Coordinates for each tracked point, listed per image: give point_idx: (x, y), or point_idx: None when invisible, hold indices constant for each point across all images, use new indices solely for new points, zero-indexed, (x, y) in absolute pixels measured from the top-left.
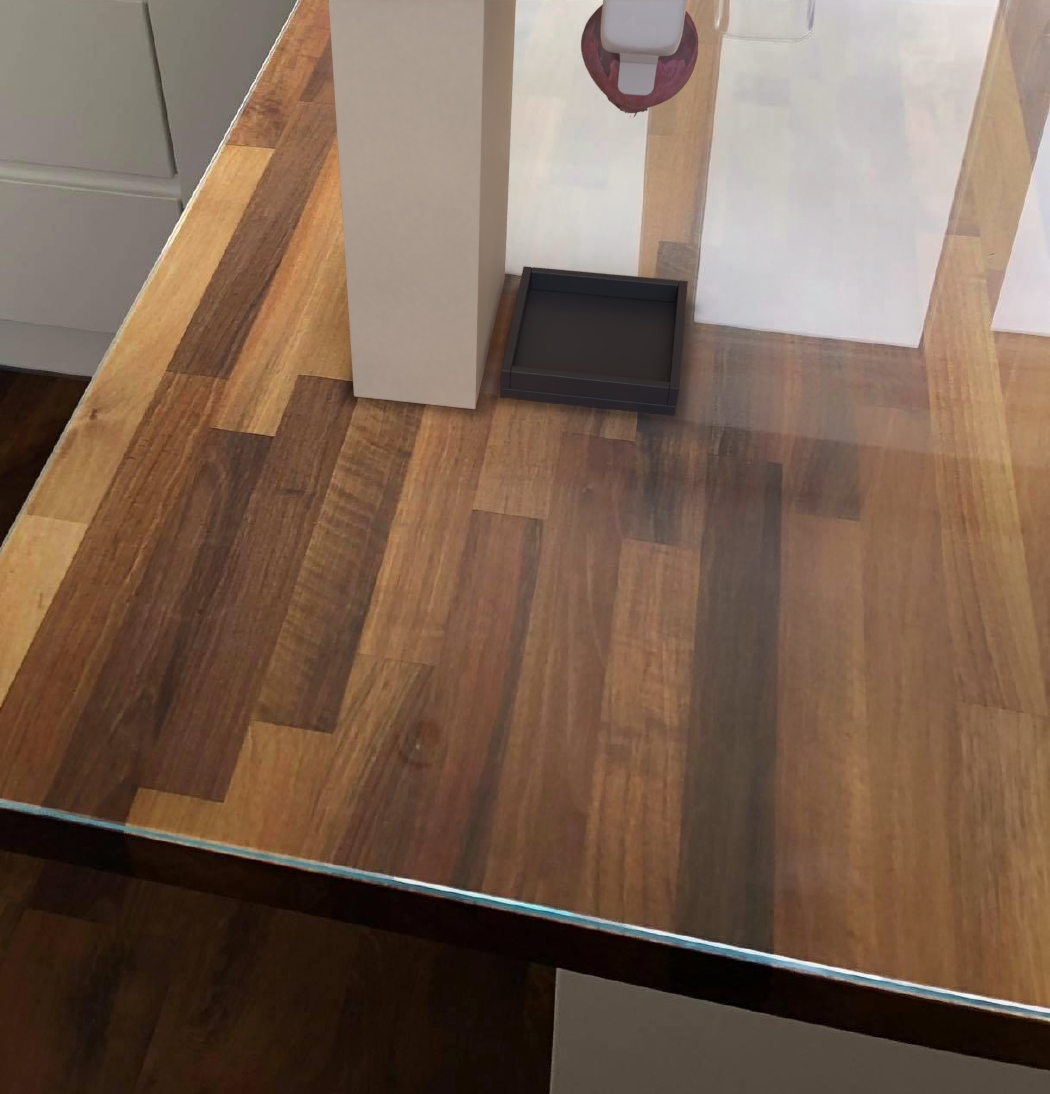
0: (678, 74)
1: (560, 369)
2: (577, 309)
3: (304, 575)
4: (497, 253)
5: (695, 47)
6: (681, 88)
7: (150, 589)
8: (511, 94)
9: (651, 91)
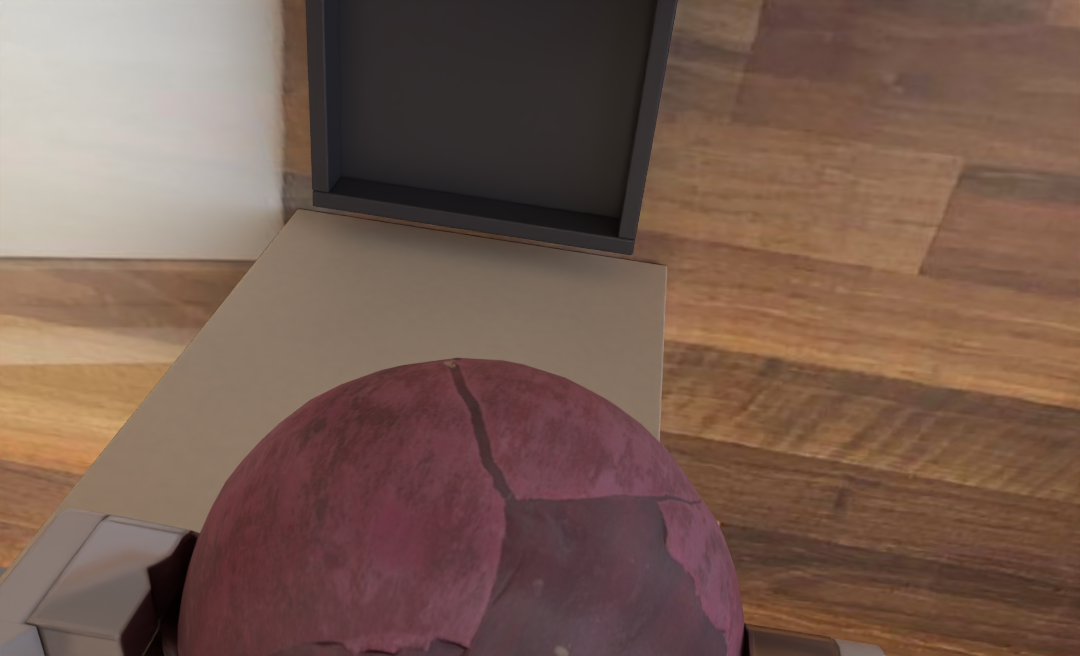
0: (693, 516)
1: (577, 129)
2: (391, 88)
3: (1018, 487)
4: (384, 306)
5: (550, 493)
6: (616, 406)
7: (1002, 634)
8: (109, 463)
9: (877, 648)
